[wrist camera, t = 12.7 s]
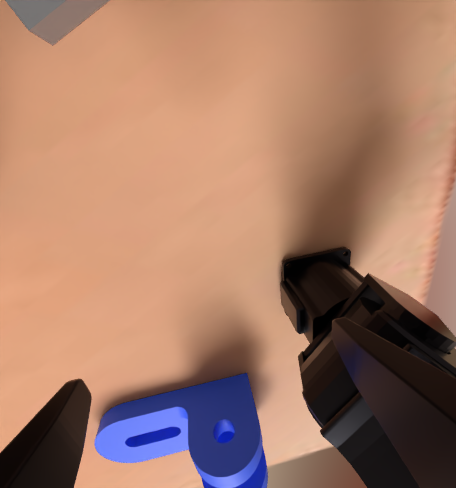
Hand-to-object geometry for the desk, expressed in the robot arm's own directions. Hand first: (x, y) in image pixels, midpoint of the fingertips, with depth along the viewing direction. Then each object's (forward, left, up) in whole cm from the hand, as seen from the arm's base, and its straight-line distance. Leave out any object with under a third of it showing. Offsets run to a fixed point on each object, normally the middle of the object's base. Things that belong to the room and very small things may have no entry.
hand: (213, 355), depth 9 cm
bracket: (+7, +23, -13) cm, 28 cm away
